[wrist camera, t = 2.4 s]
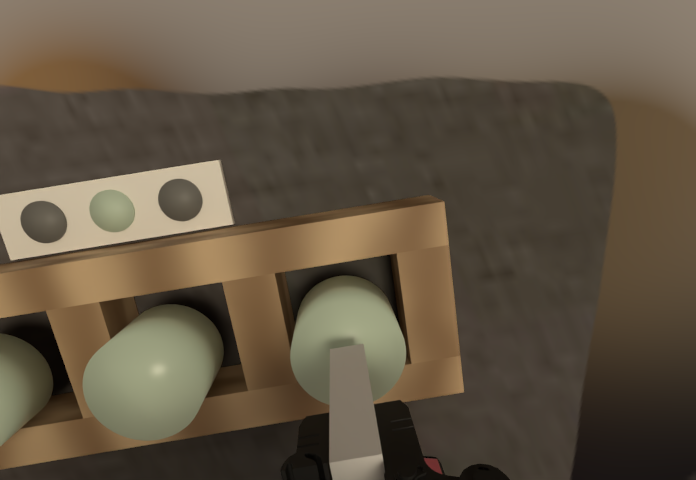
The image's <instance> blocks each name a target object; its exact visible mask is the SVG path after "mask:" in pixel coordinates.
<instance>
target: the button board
mask: <svg viewBox="0 0 696 480" xmlns="http://www.w3.org/2000/svg"><path fill="white" fill-rule="evenodd" d="M384 255H390V259H391V266H392V274H393V281H394V288H395V295H396V303H397V310H398V317H399V324H400V329H401V332H402V335H403V337H404V340H405V345H406V361H405V366H404V369H403V372H402V374H401V376H400V378H399V380H398V381H397V383H396V384H395V385H394V386H393V388H392V389H391V390H390V391H389V392H387V393H386V394H385V395H384V396H382V397H381V398H379V399H378V400H375V401H373V403H374V404H377V403H383V402H390V401H396V400H401V401H402V402H408V401H414V400H420V399H426V398H432V397H438V396H444V395H450V394H456V393H462V392H464V387H463V378H462V368H461V359H460V349H459V339H458V330H457V320H456V310H455V301H454V291H453V281H452V272H451V262H450V252H449V243H448V233H447V223H446V214H445V204H444V201H442V200H440V199H437V198H435V197H433V196H430V195H425V196H419V197H413V198H407V199H401V200H395V201H388V202H382V203H376V204H370V205H364V206H358V207H351V208H345V209H339V210H333V211H327V212H320V213H314V214H308V215H302V216H296V217H290V218H283V219H277V220H271V221H265V222H259V223H253V224H246V225H240V226H234V227H228V228H222V229H216V230H209V231H203V232H197V233H191V234H185V235H179V236H172V237H166V238H160V239H154V240H148V241H142V242H135V243H129V244H123V245H117V246H111V247H105V248H98V249H92V250H86V251H80V252H74V253H68V254H61V255H55V256H49V257H43V258H37V259H31V260H24V261H18V262H12V263H6V264H0V318H4V317H10V316H16V315H23V314H29V313H35V312H41V311H46V312H47V315H48V318H49V321H50V324H51V327H52V330H53V333H54V335H55V338H56V341H57V344H58V347H59V350H60V353H61V356H62V359H63V361H64V364H65V367H66V370H67V373H68V376H69V379H70V382H71V384H72V387H73V390H74V392H70V393H64V394H58V395H52V396H51V397H50V399H49V401H48V403H47V404H46V405H45V407H44V408H43V409H42V410H41V411H40V412H38V413H37V414H36V415H35V416H34V417H33V418H32V419H31V420H29V421H28V422H27V423H26V424H25V425H24V426H23V427H22V428H20V429H19V430H18V431H17V432H16V433H15V434H14V435H13V436H11V437H10V438H9V439H8V440H7V441H6V442H5V443H4V444H3V445H1V446H0V470H1V469H7V468H13V467H19V466H25V465H31V464H37V463H43V462H49V461H55V460H60V459H66V458H72V457H78V456H84V455H90V454H96V453H102V452H108V451H114V450H120V449H126V448H132V447H138V446H144V445H150V444H156V443H162V442H168V441H174V440H180V439H186V438H192V437H198V436H204V435H210V434H216V433H222V432H228V431H234V430H240V429H246V428H252V427H258V426H264V425H270V424H276V423H282V422H288V421H294V420H300V419H305V417H306V416H311V415H317V414H323V413H329V408H330V405H328V404H325V403H323V402H320V401H319V400H317V399H315V398H313V397H312V396H311V395H309V394H308V393H307V392H306V391H305V390H304V389H303V388H302V387H301V385H300V384H299V383H298V381H297V379H296V378H295V375H294V373H293V370H292V366H291V360H290V351H291V344H292V339H293V334H294V329H295V321H294V316H293V311H292V306H291V301H290V296H289V291H288V286H287V281H286V276H285V272H286V271H292V270H298V269H304V268H310V267H316V266H323V265H329V264H335V263H341V262H347V261H353V260H359V259H365V258H371V257H378V256H384ZM218 282H222V284H223V288H224V293H225V297H226V301H227V305H228V309H229V313H230V318H231V322H232V326H233V330H234V334H235V339H236V343H237V347H238V351H239V355H240V360H241V364H239V365H233V366H227V367H221V368H220V370H219V372H218V373H217V375H216V377H215V379H214V381H213V383H212V385H211V387H210V389H209V391H208V393H207V395H206V397H205V399H204V401H203V403H202V405H201V407H200V409H199V411H198V413H197V414H196V416H195V418H194V419H193V420H192V422H191V423H190V424H189V425H188V426H187V427H186V428H184V429H183V430H182V431H180V432H179V433H177V434H175V435H173V436H170V437H167V438H164V439H159V440H152V441H142V440H135V439H130V438H127V437H124V436H121V435H119V434H116V433H114V432H113V431H111V430H109V429H108V428H106V427H105V426H104V425H103V424H101V423H100V422H99V421H98V420H97V419H96V418H95V416H94V415H93V414H92V412H91V411H90V409H89V407H88V405H87V403H86V401H85V397H84V394H83V375H84V371H85V368H86V366H87V364H88V362H89V360H90V359H91V358H92V356H93V355H94V354H95V353H96V352H97V351H98V350H99V349H100V348H101V347H102V346H104V345H105V344H106V343H107V342H108V341H109V340H111V339H112V338H113V337H114V336H115V335H117V334H118V333H119V332H120V331H121V330H122V329H124V328H125V327H126V326H127V325H128V324H129V323H131V322H132V321H133V320H134V319H135V318H136V317H138V316H139V313H138V310H137V307H136V303H135V300H134V296H139V295H145V294H151V293H157V292H163V291H169V290H176V289H182V288H188V287H194V286H200V285H206V284H212V283H218Z"/></svg>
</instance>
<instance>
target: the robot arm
mask: <svg viewBox="0 0 696 480" xmlns="http://www.w3.org/2000/svg"><path fill="white" fill-rule="evenodd" d="M281 475H282V479H283V480H510V479H509V478H508V477H507V476H506V475H505V474H504V473H503V472H502V471H500V470H499V469H498V468H495V467H493V466H491V465H486V464H476V465H471V466H469V467H468V468H466V469H464V470H463V472H462V473H461V475H460V477H454V476H447V475H442V474H440V473H438V472H435V471H434V470H432V469H431V468H430V467H429V466H428V465H427V464H426V462H425V460H424V458H423V454H422V451H421V448H420V445H419V441H418V438H417V435H416V431H415V428H414V425H413V421H412V418H411V415H410V412H409V408H408V407H407V406H406V405H405V404H404V403H403V402H402V401H401V400H396V401H390V402H383V403H377V404H374V403H373V397H372V391H371V385H370V379H369V373H368V367H367V361H366V356H365V350H364V344H358V345H352V346H346V347H340V348H334V349H330V408H329V413H323V414H317V415H311V416H306V417H305V419H304V420H303V422H302V424H301V425H300V427H299V435H298V444H297V453H295V454H294V455H292V456H290V457H289V458H288V459H287V460H286V461H285V462H284V464H283V466H282V468H281Z"/></svg>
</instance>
